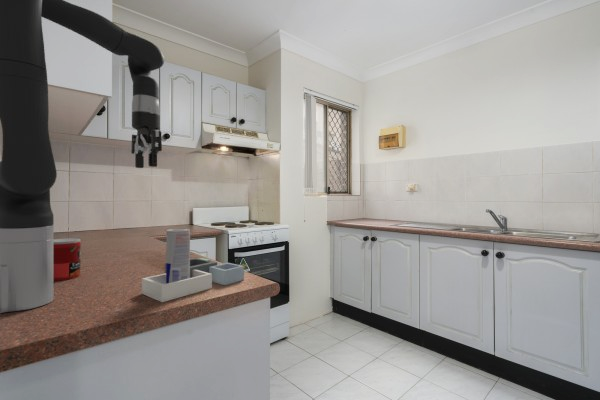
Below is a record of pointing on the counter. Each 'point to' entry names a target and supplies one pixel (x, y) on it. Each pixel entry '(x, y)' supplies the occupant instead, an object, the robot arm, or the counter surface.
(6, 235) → the robot arm
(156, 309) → the counter surface
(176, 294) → the trough
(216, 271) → the blue-grey square bin
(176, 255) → the upright juice carton
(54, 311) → the counter surface
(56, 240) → the canned food
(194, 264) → the dark grey square bin
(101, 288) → the counter surface
